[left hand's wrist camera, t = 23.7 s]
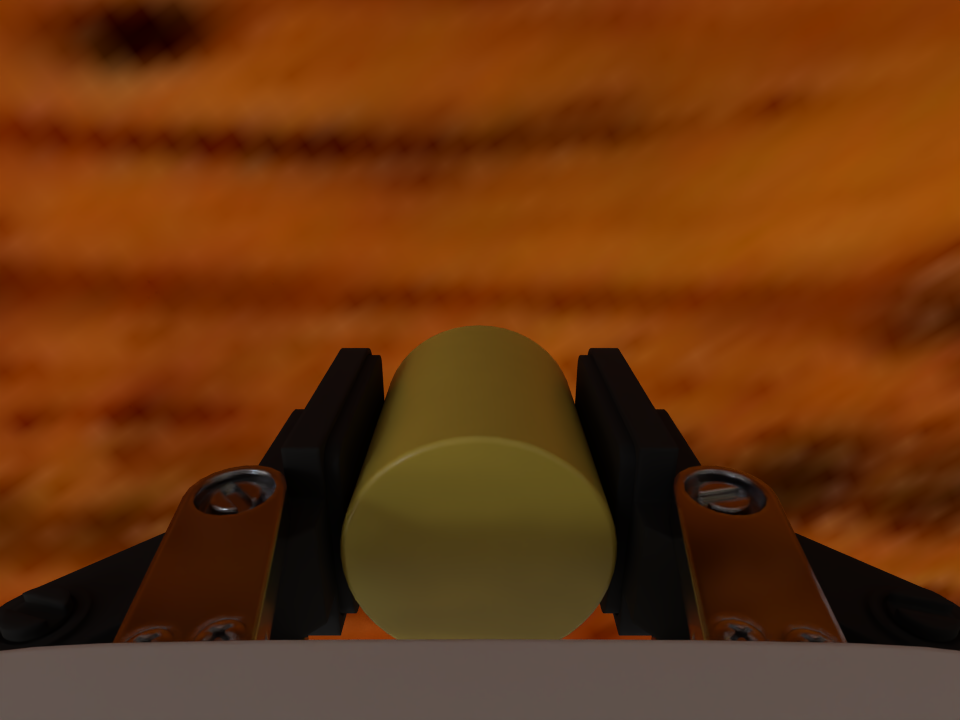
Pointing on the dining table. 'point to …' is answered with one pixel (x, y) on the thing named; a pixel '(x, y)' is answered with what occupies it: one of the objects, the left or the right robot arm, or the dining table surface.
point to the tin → (478, 498)
